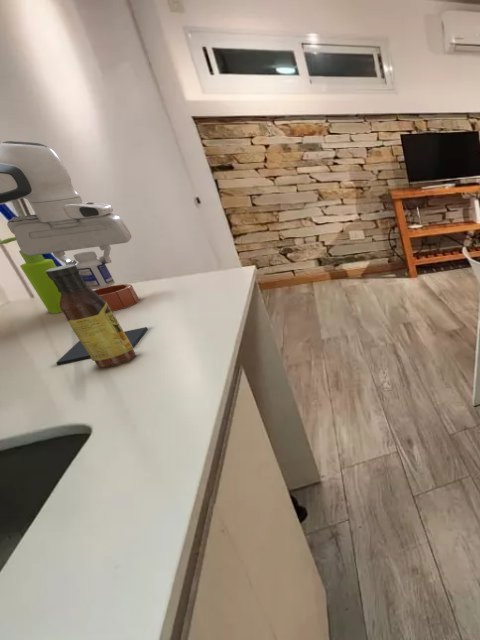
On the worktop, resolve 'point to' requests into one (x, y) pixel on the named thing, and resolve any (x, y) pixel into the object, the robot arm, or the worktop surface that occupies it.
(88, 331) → the sauce bottle
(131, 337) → the mat
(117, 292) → the pot
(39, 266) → the soap dispenser
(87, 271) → the pill bottle
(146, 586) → the worktop surface
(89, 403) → the worktop surface
